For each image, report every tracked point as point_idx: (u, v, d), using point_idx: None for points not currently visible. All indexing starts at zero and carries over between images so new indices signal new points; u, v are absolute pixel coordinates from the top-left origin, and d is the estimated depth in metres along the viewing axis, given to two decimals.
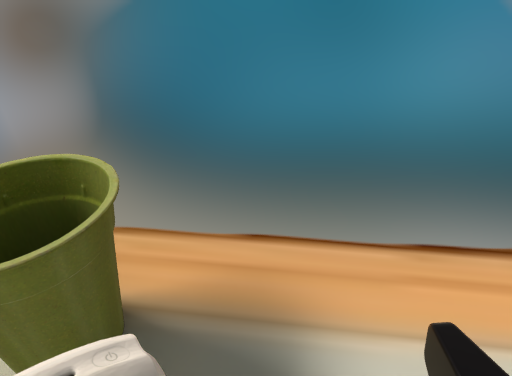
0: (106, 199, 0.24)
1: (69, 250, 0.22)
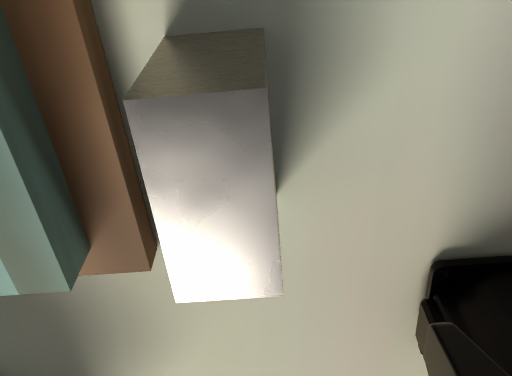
0: None
1: None
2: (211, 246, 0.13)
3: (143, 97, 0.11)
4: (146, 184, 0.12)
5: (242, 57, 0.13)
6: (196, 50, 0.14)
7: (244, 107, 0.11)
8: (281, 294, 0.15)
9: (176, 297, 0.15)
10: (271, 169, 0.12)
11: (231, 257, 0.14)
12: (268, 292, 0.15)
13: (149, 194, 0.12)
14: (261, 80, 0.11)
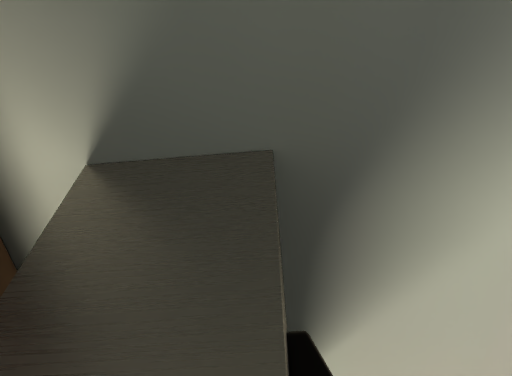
0: None
1: None
2: None
3: None
4: None
5: (226, 281, 0.06)
6: (130, 232, 0.07)
7: None
8: None
9: None
10: None
11: None
12: None
13: None
14: None
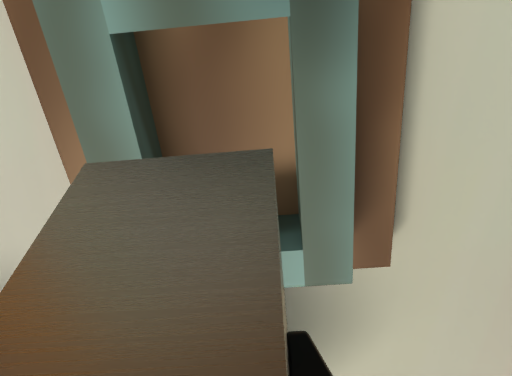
0: None
1: None
2: None
3: None
4: None
5: (226, 279, 0.05)
6: (129, 230, 0.07)
7: None
8: None
9: None
10: None
11: None
12: None
13: None
14: None
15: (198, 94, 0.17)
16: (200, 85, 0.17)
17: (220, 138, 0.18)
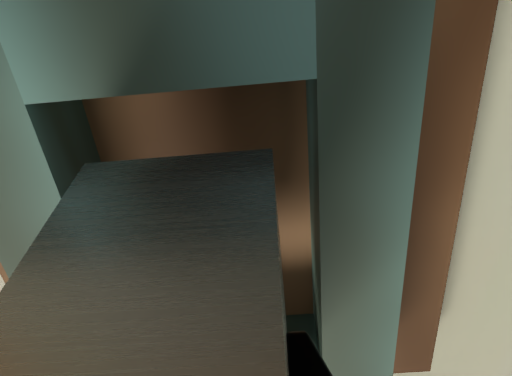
0: None
1: None
2: None
3: None
4: None
5: (225, 279, 0.05)
6: (129, 230, 0.07)
7: None
8: None
9: None
10: None
11: None
12: None
13: None
14: None
15: None
16: None
17: None
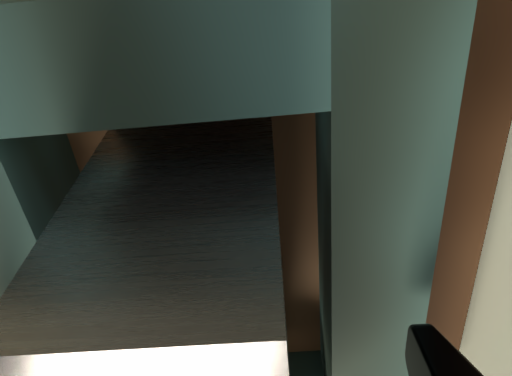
0: None
1: None
2: None
3: (9, 350, 0.05)
4: None
5: (234, 200, 0.07)
6: (154, 170, 0.08)
7: (235, 371, 0.05)
8: None
9: None
10: None
11: None
12: None
13: None
14: (273, 301, 0.05)
15: None
16: None
17: None
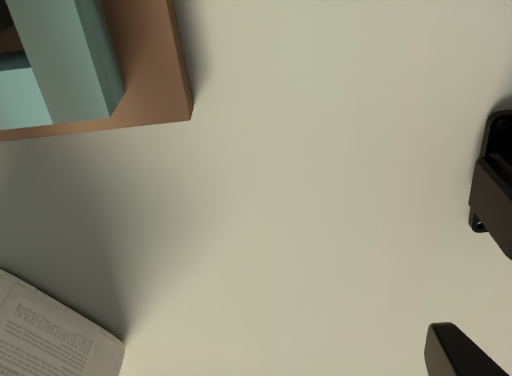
0: None
1: None
2: None
3: None
4: None
5: None
6: None
7: None
8: None
9: None
10: None
11: None
12: None
13: None
14: None
15: None
16: None
17: None
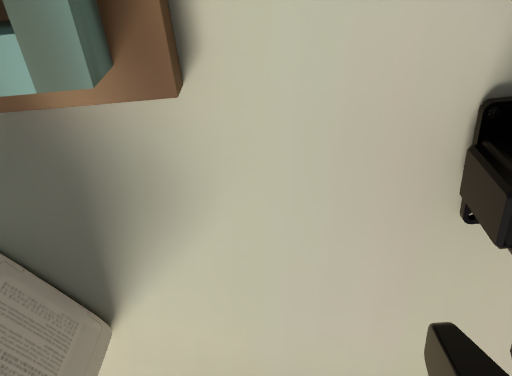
0: None
1: None
2: None
3: None
4: None
5: None
6: None
7: None
8: None
9: None
10: None
11: None
12: None
13: None
14: None
15: None
16: None
17: None
